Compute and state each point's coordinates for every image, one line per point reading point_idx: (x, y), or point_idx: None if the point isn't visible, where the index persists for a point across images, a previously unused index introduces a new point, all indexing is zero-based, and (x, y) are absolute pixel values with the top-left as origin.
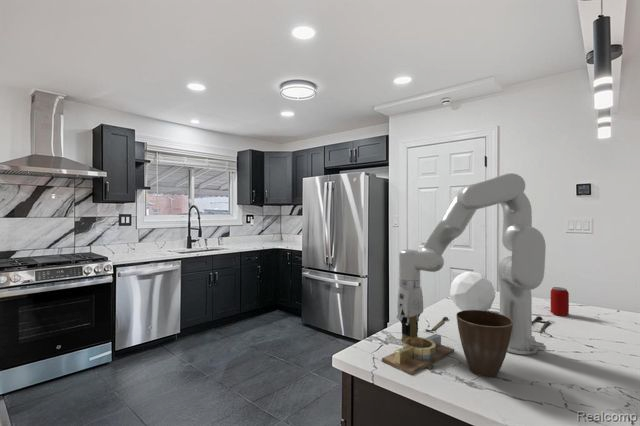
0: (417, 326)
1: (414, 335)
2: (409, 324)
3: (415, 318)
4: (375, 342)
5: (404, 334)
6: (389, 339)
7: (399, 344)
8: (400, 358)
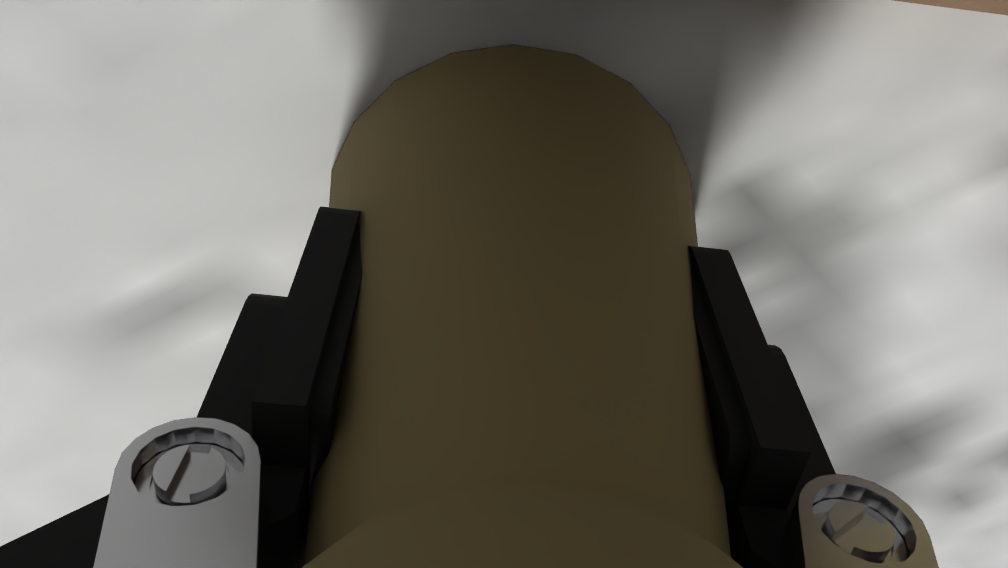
0: (306, 308)
1: (602, 166)
2: (710, 478)
3: (596, 549)
4: (967, 549)
5: None
6: None
7: (838, 271)
8: None
